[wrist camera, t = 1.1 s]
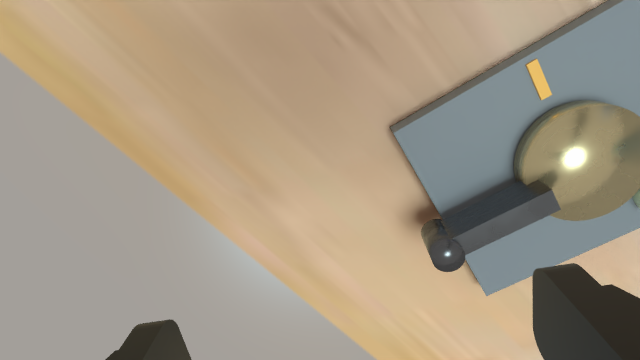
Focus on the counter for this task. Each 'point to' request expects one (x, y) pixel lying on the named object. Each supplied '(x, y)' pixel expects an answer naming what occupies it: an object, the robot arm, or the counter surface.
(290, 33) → the counter surface
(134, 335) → the robot arm
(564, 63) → the instrument base
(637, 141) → the tan disc with handle
